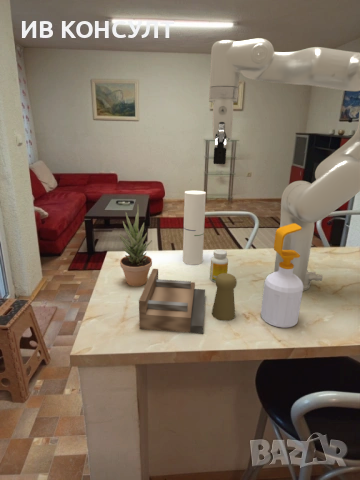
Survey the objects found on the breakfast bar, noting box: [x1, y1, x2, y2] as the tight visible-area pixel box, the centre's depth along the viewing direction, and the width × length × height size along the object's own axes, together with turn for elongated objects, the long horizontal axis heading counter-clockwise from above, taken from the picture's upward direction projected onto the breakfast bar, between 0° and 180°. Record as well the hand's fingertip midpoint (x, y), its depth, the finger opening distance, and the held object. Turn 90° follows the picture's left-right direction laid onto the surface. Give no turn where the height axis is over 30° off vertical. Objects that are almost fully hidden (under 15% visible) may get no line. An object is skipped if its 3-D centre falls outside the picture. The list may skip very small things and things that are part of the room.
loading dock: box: [138, 268, 206, 335], centre depth 81 cm, size 15×18×8 cm
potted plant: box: [119, 205, 153, 287], centre depth 94 cm, size 10×10×25 cm
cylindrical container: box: [182, 189, 207, 266], centre depth 110 cm, size 7×7×25 cm
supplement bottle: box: [209, 249, 229, 283], centre depth 99 cm, size 5×5×10 cm
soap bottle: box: [260, 223, 304, 328], centre depth 76 cm, size 9×9×25 cm
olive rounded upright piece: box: [211, 272, 238, 322], centre depth 80 cm, size 6×6×11 cm
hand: (219, 162), depth 89 cm, fingers open, 9 cm apart
